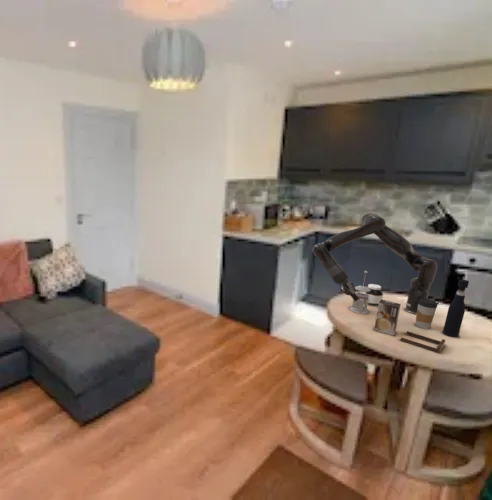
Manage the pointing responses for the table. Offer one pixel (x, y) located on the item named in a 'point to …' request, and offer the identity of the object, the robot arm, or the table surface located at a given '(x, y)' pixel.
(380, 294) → the spread jar
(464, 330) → the table surface
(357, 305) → the french press
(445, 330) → the dark water bottle
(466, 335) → the table surface
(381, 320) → the coffee box
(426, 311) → the coffee cup
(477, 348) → the table surface
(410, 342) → the bay
